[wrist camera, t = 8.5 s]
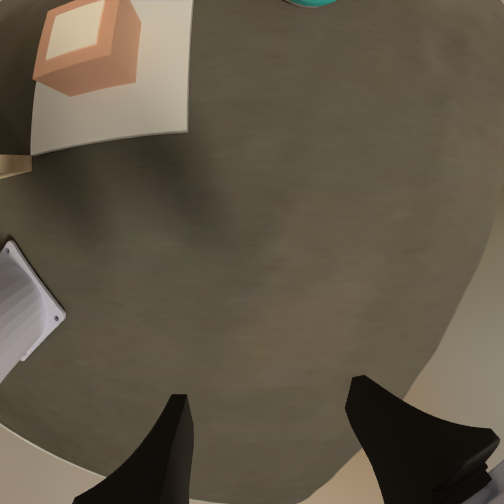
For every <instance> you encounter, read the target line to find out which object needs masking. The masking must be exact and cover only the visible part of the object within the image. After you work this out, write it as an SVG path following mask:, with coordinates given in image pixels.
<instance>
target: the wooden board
mask: <svg viewBox="0 0 504 504" xmlns="http://www.w3.org/2000/svg"><path fill="white" fill-rule="evenodd" d="M30 171H32V156H30V155H0V179H3V178H6V177H10V176H14V175H18V174H22V173H26V172H30Z"/></svg>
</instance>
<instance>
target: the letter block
mask: <svg viewBox="0 0 504 504" xmlns="http://www.w3.org/2000/svg"><path fill="white" fill-rule="evenodd" d="M140 31H141V21H140V19H139V17H138V15H137V13H136V11H135V9H134V7H133V5H132V3H131V1H130V0H75V1H72V2H70V3H67V4H64V5H62V6H59V7H57V8H55V9H52V10H50V11H48V13H47V17H46V20H45V24H44V27H43V31H42V35H41V39H40V43H39V47H38V52H37V57H36V62H35V67H34V73H33V80H35V81H37V82H40V83H42V84H44V85H46V86H48V87H50V88H53V89H55V90H57V91H59V92H61V93H63V94H65V95H67V96H69V97H72V96H76V95H80V94H84V93H88V92H92V91H96V90H100V89H105V88H109V87H114V86H119V85H125V84H130V83H136V73H137V60H138V49H139V39H140Z"/></svg>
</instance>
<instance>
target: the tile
mask: <svg viewBox="0 0 504 504" xmlns="http://www.w3.org/2000/svg"><path fill="white" fill-rule="evenodd" d="M130 1H131V3H132V5H133V7H134V9H135V11H136V13H137V15H138V17H139V19H140V21H141V31H140V39H139V49H138V60H137V73H136V83H130V84H125V85H119V86H114V87H109V88H105V89H100V90H96V91H92V92H88V93H84V94H80V95H76V96H72V97H69V96H67V95H65V94H63V93H61V92H59V91H57V90H55V89H53V88H50V87H48V86H46V85H44V84H42V83H40V82H37V81H36V87H35V95H34V103H33V113H32V127H31V153H30V155H35V156H36V155H40V154H45V153H49V152H53V151H57V150H62V149H67V148H72V147H77V146H82V145H87V144H93V143H99V142H105V141H111V140H118V139H125V138H133V137H141V136H150V135H160V134H172V133H185V132H188V101H189V67H190V46H191V30H192V16H193V4H194V0H130Z"/></svg>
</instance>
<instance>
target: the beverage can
mask: <svg viewBox="0 0 504 504" xmlns="http://www.w3.org/2000/svg"><path fill="white" fill-rule="evenodd" d="M285 1H287V2H289V3H291V4H293V5H296V6H300V7H305V8H317V7H321V6H324V5H327V4H329V3H332V2H334V1H336V0H285Z"/></svg>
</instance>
